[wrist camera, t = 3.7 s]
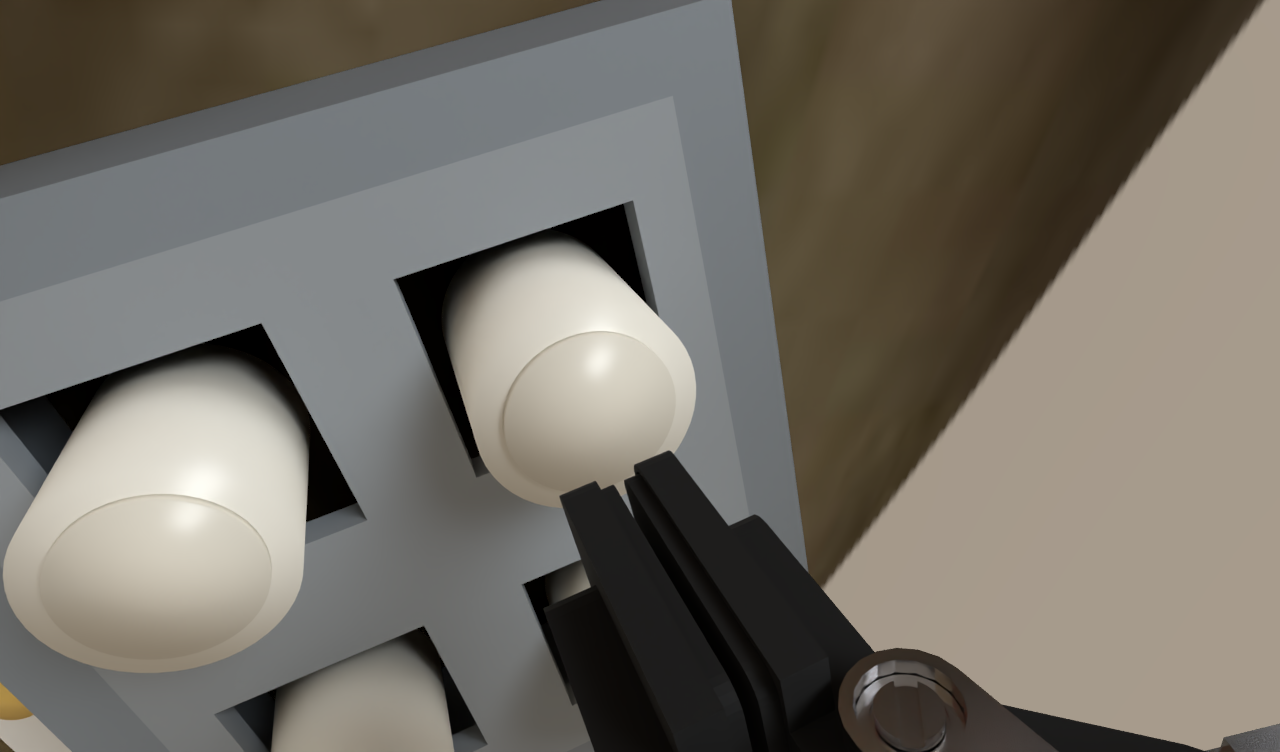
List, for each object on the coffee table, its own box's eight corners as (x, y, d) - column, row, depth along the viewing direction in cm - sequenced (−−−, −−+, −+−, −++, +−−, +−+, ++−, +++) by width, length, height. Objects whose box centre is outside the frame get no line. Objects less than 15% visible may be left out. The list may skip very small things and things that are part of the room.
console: (640, -11, 19) (729, -8, 14) (750, 565, 29) (820, 664, 25) (-189, 217, 15) (-386, 308, 11) (271, 777, 26) (259, 933, 21)
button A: (595, 204, 17) (678, 274, 13) (635, 361, 19) (716, 464, 15) (413, 263, 16) (440, 359, 12) (476, 420, 18) (516, 546, 14)
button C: (257, 315, 16) (230, 433, 12) (340, 471, 18) (343, 617, 14) (39, 387, 15) (-71, 541, 11) (155, 541, 17) (99, 717, 13)
